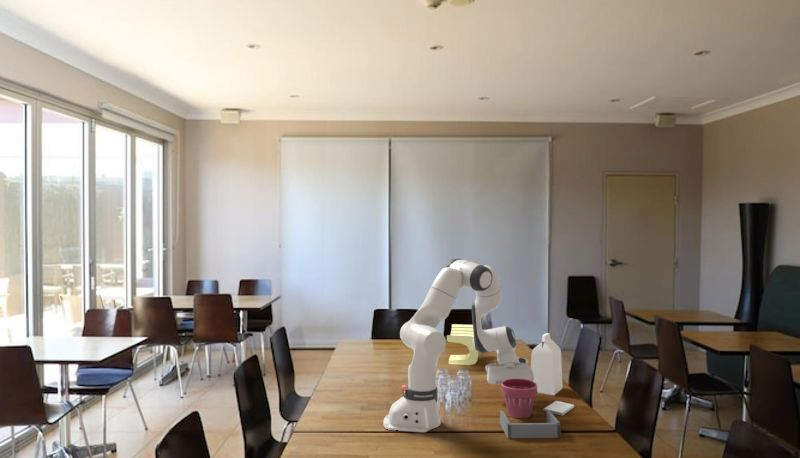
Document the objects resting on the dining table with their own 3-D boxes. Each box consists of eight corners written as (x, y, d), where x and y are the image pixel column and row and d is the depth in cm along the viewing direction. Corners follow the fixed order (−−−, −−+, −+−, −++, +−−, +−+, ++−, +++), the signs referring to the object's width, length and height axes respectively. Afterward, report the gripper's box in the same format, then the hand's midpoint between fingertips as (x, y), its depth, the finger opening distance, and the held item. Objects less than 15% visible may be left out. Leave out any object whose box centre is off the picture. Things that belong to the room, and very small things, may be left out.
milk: (538, 384, 254) (538, 330, 253) (562, 388, 247) (562, 333, 246) (529, 390, 244) (529, 335, 243) (553, 395, 237) (553, 338, 237)
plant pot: (498, 418, 210) (498, 386, 210) (504, 406, 223) (504, 376, 223) (534, 423, 205) (534, 390, 205) (539, 410, 218) (539, 380, 218)
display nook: (507, 438, 191) (507, 424, 191) (500, 423, 205) (500, 410, 205) (560, 437, 191) (560, 424, 191) (549, 422, 205) (549, 410, 205)
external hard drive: (543, 412, 218) (555, 404, 227) (562, 416, 213) (574, 408, 222) (543, 408, 218) (555, 400, 227) (562, 412, 213) (574, 404, 222)
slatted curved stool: (476, 369, 279) (476, 336, 279) (447, 368, 282) (446, 335, 282) (479, 355, 308) (479, 325, 308) (452, 354, 311) (452, 324, 311)
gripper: (485, 360, 233) (489, 389, 223) (531, 359, 233) (537, 388, 223) (483, 367, 237) (487, 395, 228) (529, 366, 237) (534, 395, 228)
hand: (512, 392), depth 225 cm, fingers closed
